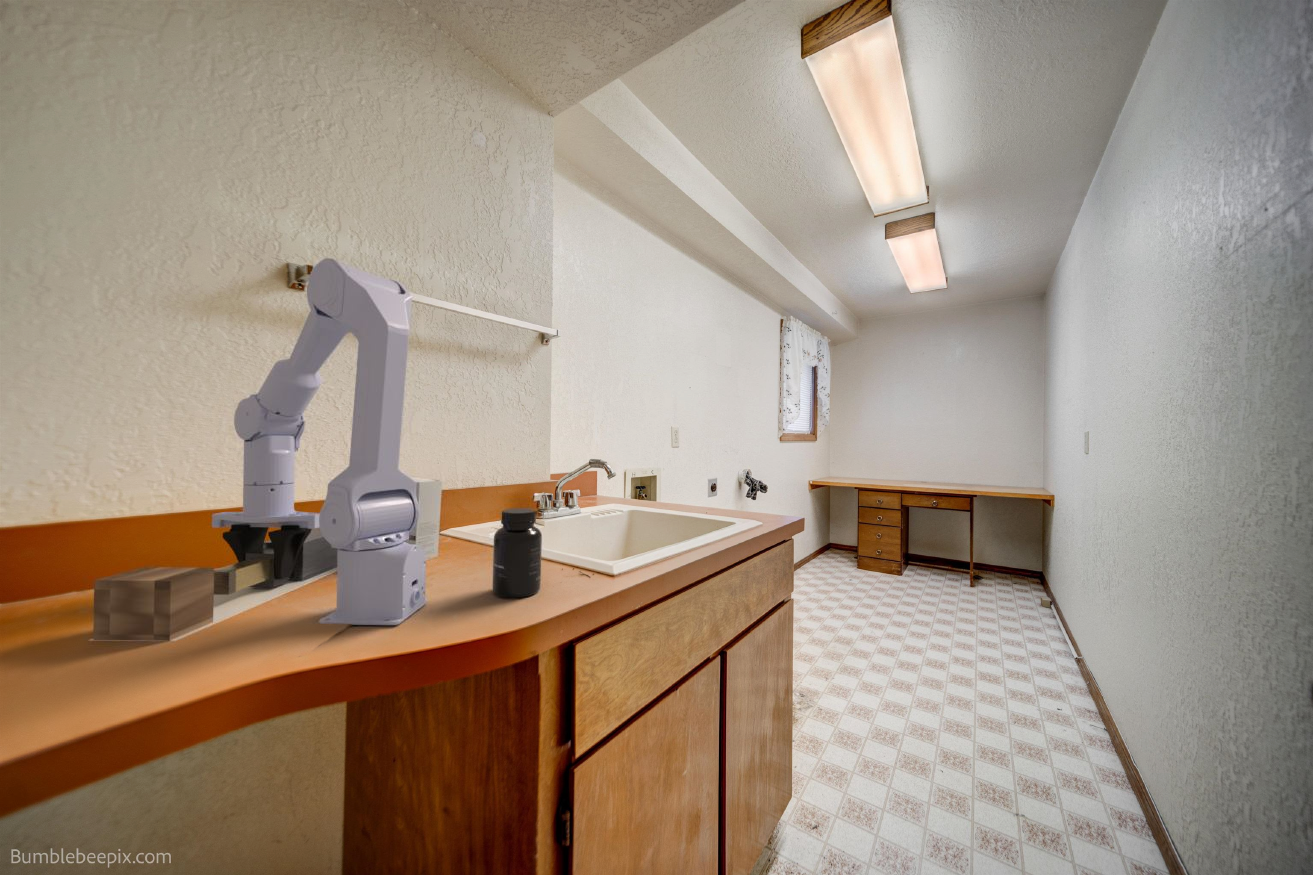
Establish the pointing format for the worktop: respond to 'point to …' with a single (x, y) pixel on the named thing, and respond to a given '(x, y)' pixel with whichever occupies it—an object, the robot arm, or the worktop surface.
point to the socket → (153, 603)
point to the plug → (248, 573)
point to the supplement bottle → (517, 555)
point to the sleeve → (312, 557)
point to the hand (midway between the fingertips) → (268, 577)
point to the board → (246, 600)
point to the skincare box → (427, 516)
